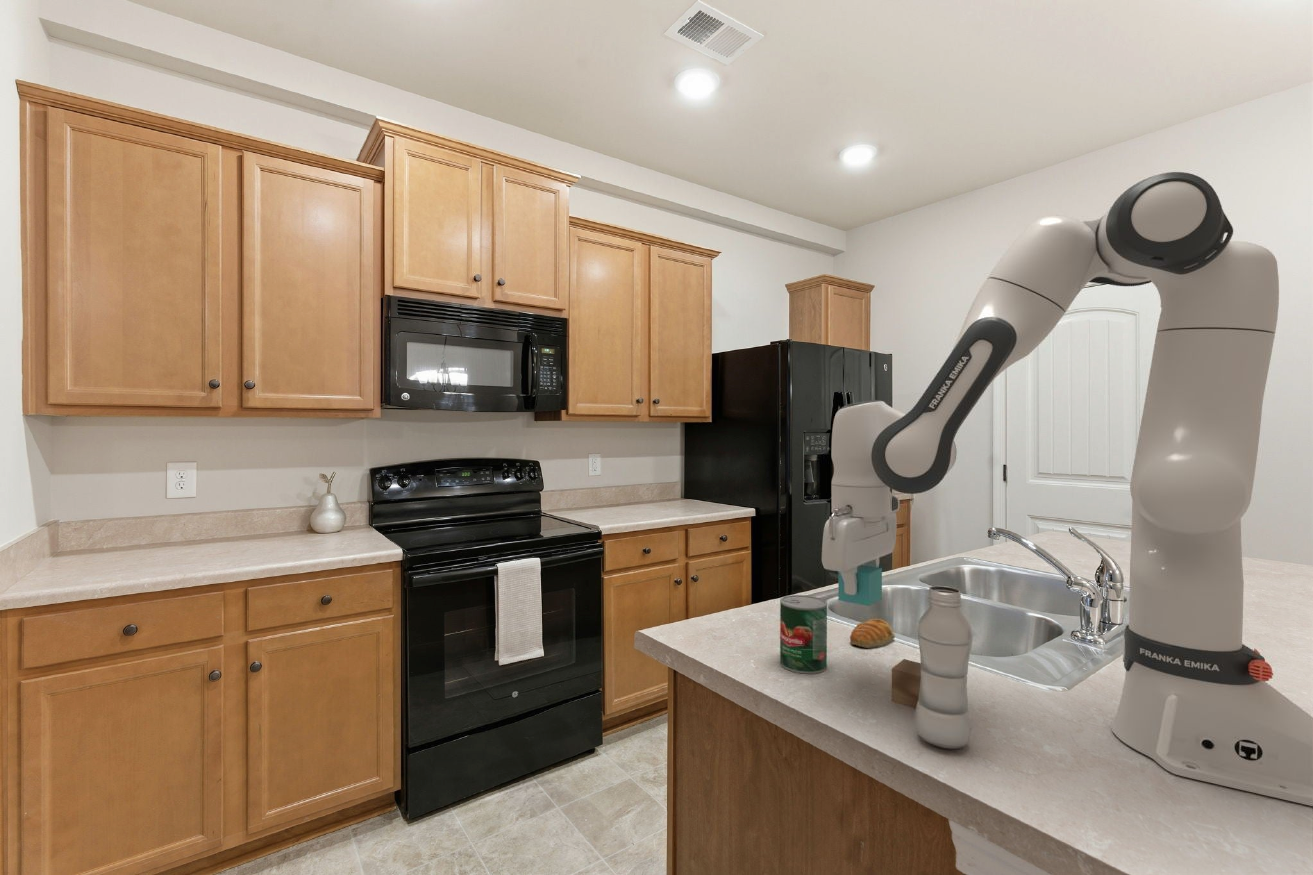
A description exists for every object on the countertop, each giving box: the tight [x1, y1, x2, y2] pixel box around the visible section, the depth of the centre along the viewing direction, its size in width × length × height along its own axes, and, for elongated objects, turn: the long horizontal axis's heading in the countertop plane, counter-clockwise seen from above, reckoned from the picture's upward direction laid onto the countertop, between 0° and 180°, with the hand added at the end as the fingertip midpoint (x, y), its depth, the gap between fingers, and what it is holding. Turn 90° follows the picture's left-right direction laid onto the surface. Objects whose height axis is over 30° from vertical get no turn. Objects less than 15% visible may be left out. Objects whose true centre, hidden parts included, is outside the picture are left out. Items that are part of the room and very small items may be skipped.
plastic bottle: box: [914, 585, 974, 750], centre depth 79 cm, size 6×7×20 cm
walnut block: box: [890, 658, 921, 709], centre depth 91 cm, size 5×5×5 cm
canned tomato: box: [779, 594, 828, 675], centre depth 105 cm, size 8×8×11 cm
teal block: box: [837, 564, 883, 607], centre depth 97 cm, size 5×5×5 cm
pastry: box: [849, 618, 896, 649], centre depth 116 cm, size 9×7×4 cm
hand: (860, 589), depth 97 cm, fingers closed on teal block, 5 cm apart
